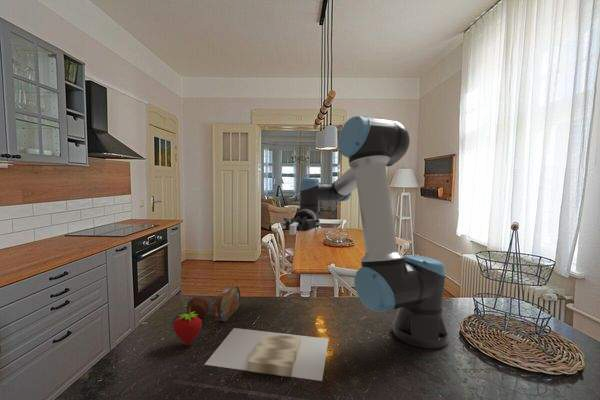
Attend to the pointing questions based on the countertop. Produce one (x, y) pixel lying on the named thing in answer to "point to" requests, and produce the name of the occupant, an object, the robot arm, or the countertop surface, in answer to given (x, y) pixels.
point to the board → (275, 355)
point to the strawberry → (187, 327)
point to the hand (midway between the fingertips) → (292, 230)
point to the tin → (227, 303)
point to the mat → (245, 341)
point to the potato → (198, 306)
